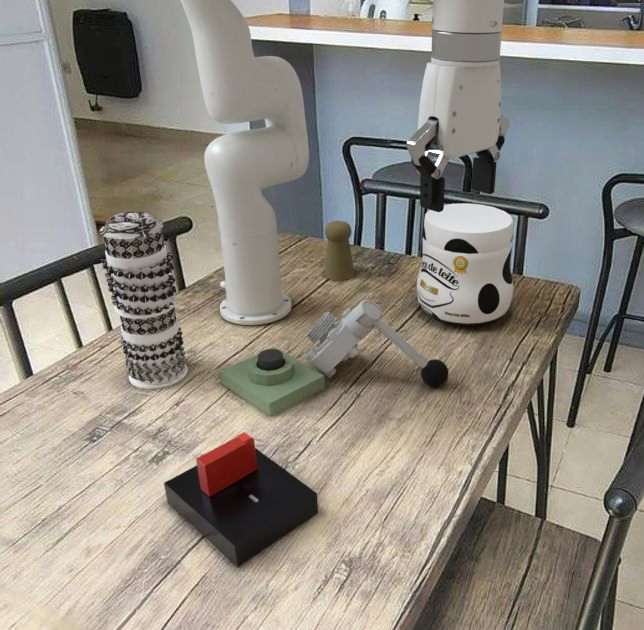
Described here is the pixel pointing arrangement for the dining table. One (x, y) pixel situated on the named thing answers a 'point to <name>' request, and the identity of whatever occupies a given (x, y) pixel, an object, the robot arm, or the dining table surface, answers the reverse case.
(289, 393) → the button housing
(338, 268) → the olive brown pawn
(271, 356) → the stop button
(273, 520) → the base
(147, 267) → the decorative candle
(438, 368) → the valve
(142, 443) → the dining table surface
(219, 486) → the tap handle
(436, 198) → the robot arm
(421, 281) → the milk container
